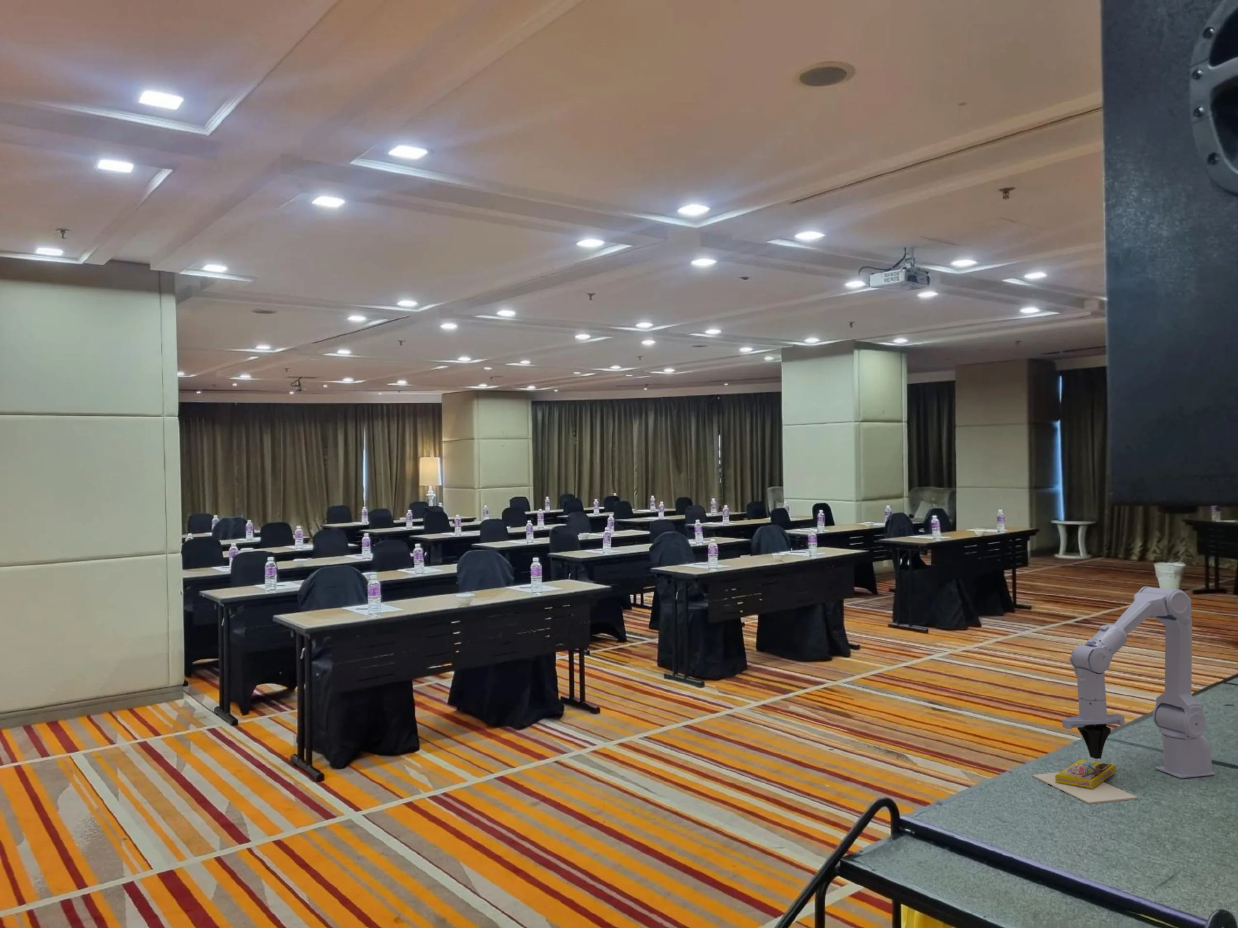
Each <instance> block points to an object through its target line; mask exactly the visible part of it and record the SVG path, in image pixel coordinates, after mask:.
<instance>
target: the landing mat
mask: <svg viewBox="0 0 1238 928" xmlns="http://www.w3.org/2000/svg"><path fill="white" fill-rule="evenodd" d="M1060 772H1061V771H1058V772H1049V773H1038V774H1032V775H1031V777H1032V778H1034V779H1036V780H1038V781H1039V782H1042V783H1044V784H1046V783H1047V784H1046V785H1048V784H1050V785H1052V786H1054V787H1056V788H1058V789H1059V790H1058V789H1057V790H1058V791H1060V790H1062V791H1064V792H1066V793H1068V794H1067V795H1069V794H1070V795H1069V796H1070V797H1073V796H1074V797H1073V798H1075V797H1076V798H1075V799H1077V800H1079V799H1080V800H1079V801H1081V802H1083V803H1085V804H1087V805H1093V804H1095V805H1096V804H1102V803H1103V804H1104V803H1112V802H1122V801H1133V800H1134V801H1135V800H1138V799H1139V798H1138V797H1137V796H1136V795H1134V794H1131V793H1129V792H1127V791H1125V790H1123V789H1119V788H1118V787H1115V786H1113V785H1111V784H1108V783H1106V782H1104V781H1103V782H1101V783H1100V784H1099V785H1097V786H1096V787H1095V788H1093V789H1091V788H1086V787H1080V786H1074V785H1069V784H1063V783H1058V782H1056V780H1055V775H1057V774H1058V773H1060ZM1050 785H1049V786H1050ZM1052 786H1051V787H1052ZM1054 787H1053V788H1054ZM1056 788H1055V789H1056ZM1062 791H1061V792H1062ZM1064 792H1063V793H1064ZM1066 793H1065V794H1066Z"/></svg>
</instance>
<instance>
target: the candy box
mask: <svg viewBox="0 0 1238 928" xmlns="http://www.w3.org/2000/svg"><path fill="white" fill-rule="evenodd" d="M1059 772H1060V773H1058V774H1057V775H1055V780H1056V782H1058V783H1063V784H1069V785H1074V786H1080V787H1086V788H1091V789H1093V788H1095V787H1096V786H1097V785H1099V784H1100V783H1101V782H1104V781H1105V780H1107V779H1108V778H1111V777H1112V776H1113V775H1114V774H1115V773H1117V767H1116V764H1115V763H1106V762H1100V761H1093V760H1088V759H1079V760H1077V761H1075V762H1074V763H1073V764H1071V765H1070V766H1068V767H1066V768H1065V769H1063V770H1061V771H1059Z"/></svg>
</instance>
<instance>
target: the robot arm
mask: <svg viewBox="0 0 1238 928" xmlns="http://www.w3.org/2000/svg"><path fill="white" fill-rule="evenodd" d="M1151 617H1152V618H1155V619H1157V620H1158V622H1160V623H1161V624H1162V625H1163V626H1164V627H1165V630H1164V631H1165V633H1164V640H1165V642H1164V647H1165V648H1164V691H1163V693H1161V694H1160V695H1158V696H1157V697H1156V698H1155V705H1154V709H1153V711H1152V721H1153V723H1154V725H1155V726H1156V727H1157V728H1158V729H1159V730H1158V731H1159V732H1160V733H1161V735H1162V736H1161V737H1162V752H1163V755H1162V756H1163V765H1158V766H1155V767H1154V769H1155V770H1158V771H1161V772H1162V773H1166V774H1168V775H1172V776H1174V777H1176V778H1179V779H1185V778H1187V779H1188V778H1196V777H1207V776H1214V775H1216V772H1214V771H1213V765H1212V762H1213V761H1212V750H1211V744H1210V742H1209V740H1208V738H1206V736H1205V735H1203V733H1204V731H1205V728H1206V719H1205V716H1204V713H1203V705H1202V704H1201V703H1200V702H1199V701H1198V700H1197V699H1196V698H1195V697H1194V696H1193V695H1192V684H1193V683H1192V682H1193V681H1192V678H1193V677H1192V675H1193V672H1192V669H1193V668H1192V667H1193V665H1192V664H1193V661H1192V659H1193V653H1192V651H1193V619H1192V598H1191V597H1190V596H1189V595H1188V594H1187V593H1186V592H1185V591H1183V590H1182V589H1179V588H1178V589H1173V588H1171V589H1170V588H1160V587H1153V586H1149V585H1148V586H1146V585H1145V586H1142V587H1141V588H1140V589H1139V590H1138V591H1137V592H1136V593H1135V594H1134V595H1133V602H1132V603H1131V604H1130V605H1129V606H1128V608H1127V609H1126V610H1125V611H1124V612H1123V613H1122V614H1121V615H1120V617H1119V618H1118V619H1117V620H1116V621H1115V622H1114V623H1113V624H1111V623H1110V624H1107V623H1106V624H1103V625H1102V624H1101V626H1100V627H1099V630H1098V631H1097V632H1096V633H1095V634H1094V635H1093V636H1092V637H1091V638H1090V639H1088V640H1087V641H1086V643H1085V644H1079V645H1077V646H1075V648H1073V650H1072V651H1071V655H1070V656H1069V663H1070V664H1071V666H1072V667H1073V670H1074V675H1075V676H1076V683H1077V700H1078V715H1075V716H1072V717H1067V718H1062V719H1061V721H1062V722H1061V723H1062V728H1063V729H1067V730H1073V729H1076V728H1077V731H1078V732H1079V733H1080V735H1081V737H1082V739H1083V740H1084V743H1085V746H1086V748H1087V750H1088V753H1089V757H1090V758H1092V759H1094V760H1101V759H1102V755H1103V751H1104V746H1105V744H1106V741H1107V739H1108V737H1109V736H1110V734H1111V728H1110V726H1111V725H1121V726H1122V725H1125V722H1126V721H1125V716H1124V715H1122V714H1119V713H1118V714H1117V713H1116V714H1115V713H1114V714H1111V713H1110V714H1108V711H1107V694H1106V693H1107V692H1106V691H1107V690H1106V677H1105V672H1106V671H1108V670H1109V669H1110V666H1111V661H1112V660H1113V657H1114V656H1115V654H1116V653H1117V652H1118V651H1119V650H1120V649H1121V648H1123V646H1125V645H1126V644H1127V642H1128V637H1127V635H1129V634H1130V633H1131V632H1132V631H1133V630H1134V629H1136V628H1137V627H1138V626H1139V625H1141V624H1142V623H1143V622H1144V621H1146V620H1147V619H1148V618H1151ZM1108 726H1109V727H1108Z"/></svg>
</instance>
